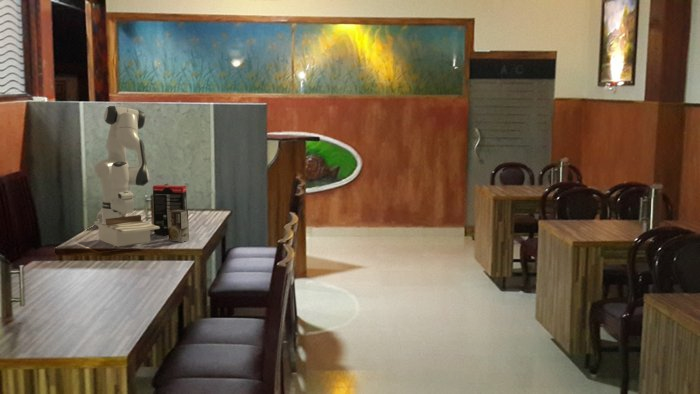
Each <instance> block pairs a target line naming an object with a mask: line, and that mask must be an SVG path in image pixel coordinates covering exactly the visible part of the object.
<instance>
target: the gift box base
mask: <svg viewBox="0 0 700 394" xmlns="http://www.w3.org/2000/svg"><path fill="white" fill-rule="evenodd" d="M97 227H98V240H99V241H101V242H105V243H107V244H108V245H111V246H115V247H116V246H117V247H122V246H124V247H125V246H132V245H139V244H145V243H151V230H146V231H138V232H131V233H122V232H120V231H117V230H114V229H111V228H108V227H106V223H104V224H98V226H97Z"/></svg>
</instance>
